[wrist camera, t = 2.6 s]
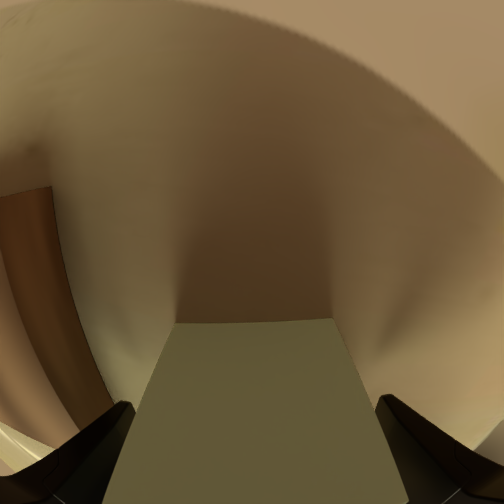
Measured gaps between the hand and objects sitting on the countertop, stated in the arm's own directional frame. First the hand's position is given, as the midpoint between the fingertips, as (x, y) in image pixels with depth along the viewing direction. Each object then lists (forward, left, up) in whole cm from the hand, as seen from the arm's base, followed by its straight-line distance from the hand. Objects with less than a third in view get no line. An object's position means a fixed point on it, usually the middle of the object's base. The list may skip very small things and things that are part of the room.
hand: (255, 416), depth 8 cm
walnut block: (-13, +2, -2) cm, 13 cm away
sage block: (0, 0, -2) cm, 2 cm away
